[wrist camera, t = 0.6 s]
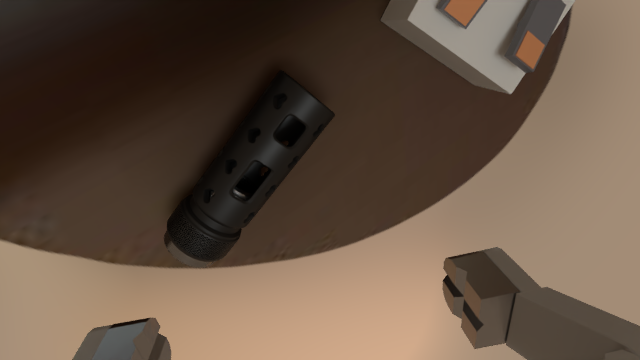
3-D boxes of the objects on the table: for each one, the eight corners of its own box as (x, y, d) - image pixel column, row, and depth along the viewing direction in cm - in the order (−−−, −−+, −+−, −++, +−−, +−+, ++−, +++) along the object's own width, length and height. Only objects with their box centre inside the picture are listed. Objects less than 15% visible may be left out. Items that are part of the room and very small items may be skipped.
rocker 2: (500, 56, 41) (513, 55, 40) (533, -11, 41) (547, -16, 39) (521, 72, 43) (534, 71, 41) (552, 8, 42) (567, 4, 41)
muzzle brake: (324, 105, 49) (346, 123, 40) (219, 238, 54) (217, 281, 45) (274, 63, 44) (285, 73, 35) (165, 212, 50) (151, 254, 41)
